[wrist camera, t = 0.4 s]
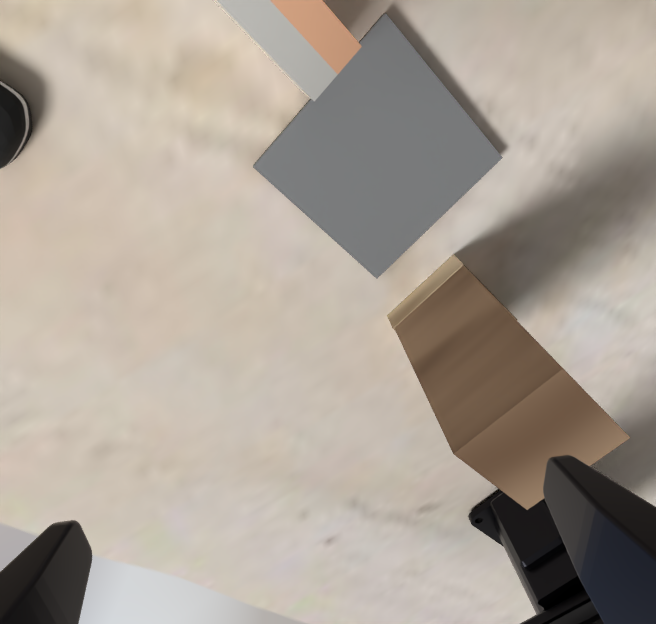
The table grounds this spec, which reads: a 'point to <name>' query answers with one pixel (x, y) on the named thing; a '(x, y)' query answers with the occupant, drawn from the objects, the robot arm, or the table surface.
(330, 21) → the tile
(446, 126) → the pad
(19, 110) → the kitchen cleaver
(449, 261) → the wooden post stub
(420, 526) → the table surface
